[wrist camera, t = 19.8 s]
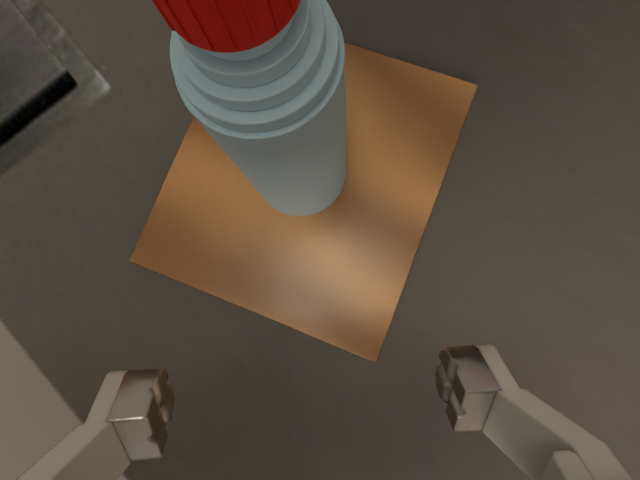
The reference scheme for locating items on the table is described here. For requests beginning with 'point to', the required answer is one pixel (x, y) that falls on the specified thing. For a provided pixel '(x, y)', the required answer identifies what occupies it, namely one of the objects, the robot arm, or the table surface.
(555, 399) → the table surface
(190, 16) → the cap
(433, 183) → the mat
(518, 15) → the table surface
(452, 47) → the table surface
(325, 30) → the bottle
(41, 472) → the robot arm
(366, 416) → the table surface
